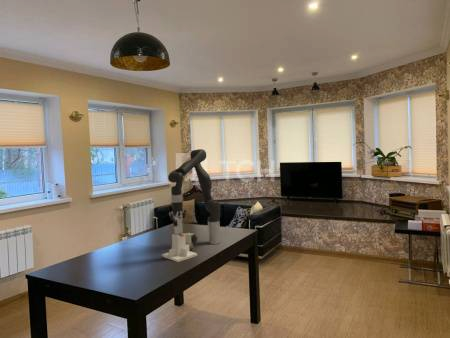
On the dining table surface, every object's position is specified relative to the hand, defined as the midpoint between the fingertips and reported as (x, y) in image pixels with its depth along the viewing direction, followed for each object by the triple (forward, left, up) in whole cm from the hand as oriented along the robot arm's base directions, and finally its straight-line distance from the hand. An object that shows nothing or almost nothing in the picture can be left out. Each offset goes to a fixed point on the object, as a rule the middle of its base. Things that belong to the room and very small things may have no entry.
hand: (178, 225), depth 231 cm
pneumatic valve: (-16, -9, -22) cm, 29 cm away
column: (0, 0, -15) cm, 15 cm away
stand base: (0, 0, -22) cm, 22 cm away
